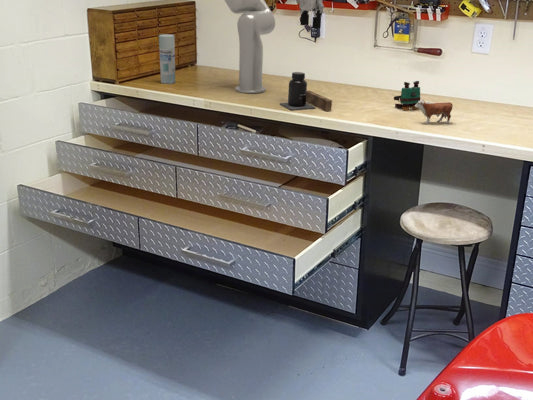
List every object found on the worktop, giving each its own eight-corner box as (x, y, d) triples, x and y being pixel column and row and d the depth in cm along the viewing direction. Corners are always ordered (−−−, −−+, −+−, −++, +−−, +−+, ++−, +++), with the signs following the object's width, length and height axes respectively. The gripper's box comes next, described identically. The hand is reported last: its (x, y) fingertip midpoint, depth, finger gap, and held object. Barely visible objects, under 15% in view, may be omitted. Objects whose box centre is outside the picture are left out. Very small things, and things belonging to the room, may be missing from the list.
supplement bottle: (304, 107, 236) (306, 75, 232) (286, 106, 237) (287, 74, 233) (307, 103, 242) (308, 72, 238) (289, 102, 243) (290, 70, 239)
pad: (279, 104, 242) (279, 103, 242) (303, 102, 246) (303, 101, 246) (291, 110, 233) (291, 109, 233) (315, 108, 237) (315, 107, 237)
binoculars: (407, 79, 246) (425, 81, 237) (406, 106, 249) (423, 109, 240) (389, 80, 242) (406, 82, 233) (388, 108, 245) (405, 111, 236)
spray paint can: (158, 83, 273) (156, 35, 266) (163, 80, 279) (162, 34, 272) (172, 84, 272) (171, 36, 265) (177, 81, 278) (176, 34, 271)
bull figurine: (411, 121, 224) (414, 98, 221) (448, 121, 225) (451, 98, 222) (415, 124, 220) (418, 101, 217) (453, 124, 221) (456, 101, 218)
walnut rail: (304, 100, 249) (304, 90, 248) (308, 100, 250) (309, 90, 248) (326, 111, 234) (327, 100, 232) (331, 111, 235) (331, 100, 233)
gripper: (293, -23, 239) (291, 24, 245) (314, -21, 224) (312, 29, 230) (310, -23, 241) (308, 23, 248) (333, -21, 227) (330, 29, 233)
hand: (310, 26), depth 239 cm, fingers open, 9 cm apart
